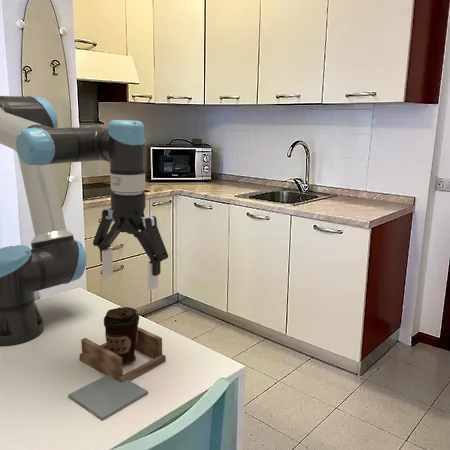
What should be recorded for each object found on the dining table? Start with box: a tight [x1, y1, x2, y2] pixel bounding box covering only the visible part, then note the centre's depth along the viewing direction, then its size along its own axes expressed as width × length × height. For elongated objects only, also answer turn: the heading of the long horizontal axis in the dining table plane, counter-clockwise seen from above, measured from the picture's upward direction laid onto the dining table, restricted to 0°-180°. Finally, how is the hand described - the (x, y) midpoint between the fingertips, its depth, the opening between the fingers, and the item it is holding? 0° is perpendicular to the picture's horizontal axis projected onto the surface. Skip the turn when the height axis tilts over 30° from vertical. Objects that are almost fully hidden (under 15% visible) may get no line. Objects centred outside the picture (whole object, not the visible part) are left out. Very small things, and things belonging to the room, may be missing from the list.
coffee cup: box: [103, 306, 140, 367], centre depth 114 cm, size 9×8×13 cm
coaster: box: [67, 375, 149, 422], centre depth 101 cm, size 12×12×1 cm
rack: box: [78, 326, 167, 383], centre depth 114 cm, size 16×13×6 cm
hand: (129, 281), depth 109 cm, fingers open, 13 cm apart
